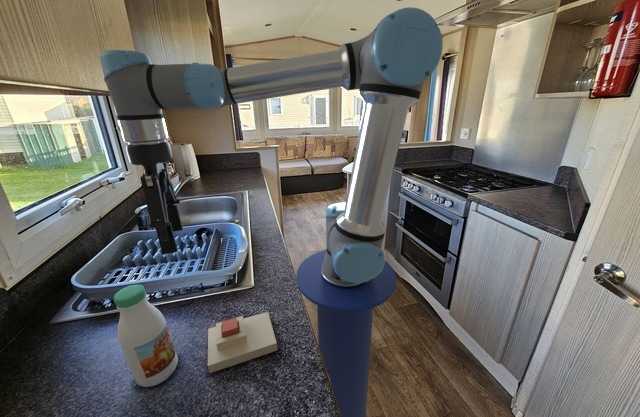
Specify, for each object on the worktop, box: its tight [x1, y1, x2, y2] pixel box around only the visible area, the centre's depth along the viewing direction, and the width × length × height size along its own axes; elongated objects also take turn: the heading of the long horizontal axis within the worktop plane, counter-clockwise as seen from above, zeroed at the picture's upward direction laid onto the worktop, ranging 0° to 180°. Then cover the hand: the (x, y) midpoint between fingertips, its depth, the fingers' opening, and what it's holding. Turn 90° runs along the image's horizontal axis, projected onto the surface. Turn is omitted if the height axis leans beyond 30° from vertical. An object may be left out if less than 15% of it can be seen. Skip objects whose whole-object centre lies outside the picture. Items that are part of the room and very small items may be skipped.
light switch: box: [207, 311, 278, 374], centre depth 59 cm, size 14×10×4 cm
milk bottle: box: [113, 284, 179, 388], centre depth 50 cm, size 8×8×20 cm
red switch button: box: [221, 317, 239, 338], centre depth 58 cm, size 3×3×2 cm
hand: (173, 240), depth 60 cm, fingers open, 10 cm apart
